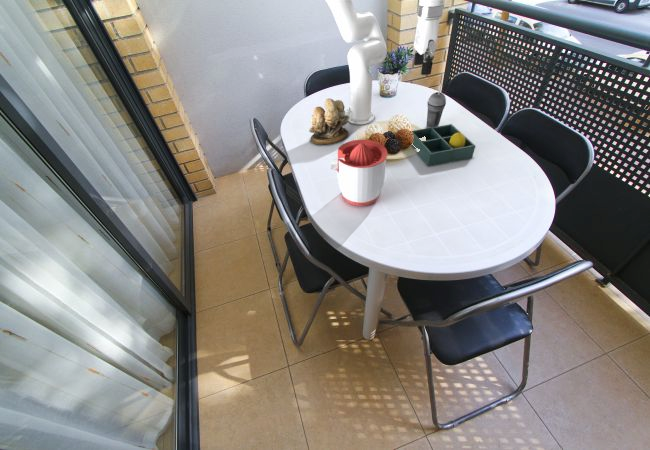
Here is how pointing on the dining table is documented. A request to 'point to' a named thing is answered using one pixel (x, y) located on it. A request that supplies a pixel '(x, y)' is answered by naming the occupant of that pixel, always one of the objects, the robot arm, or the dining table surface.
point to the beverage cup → (435, 108)
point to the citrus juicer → (361, 171)
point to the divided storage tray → (440, 145)
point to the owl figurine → (329, 123)
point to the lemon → (457, 140)
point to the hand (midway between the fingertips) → (421, 69)
